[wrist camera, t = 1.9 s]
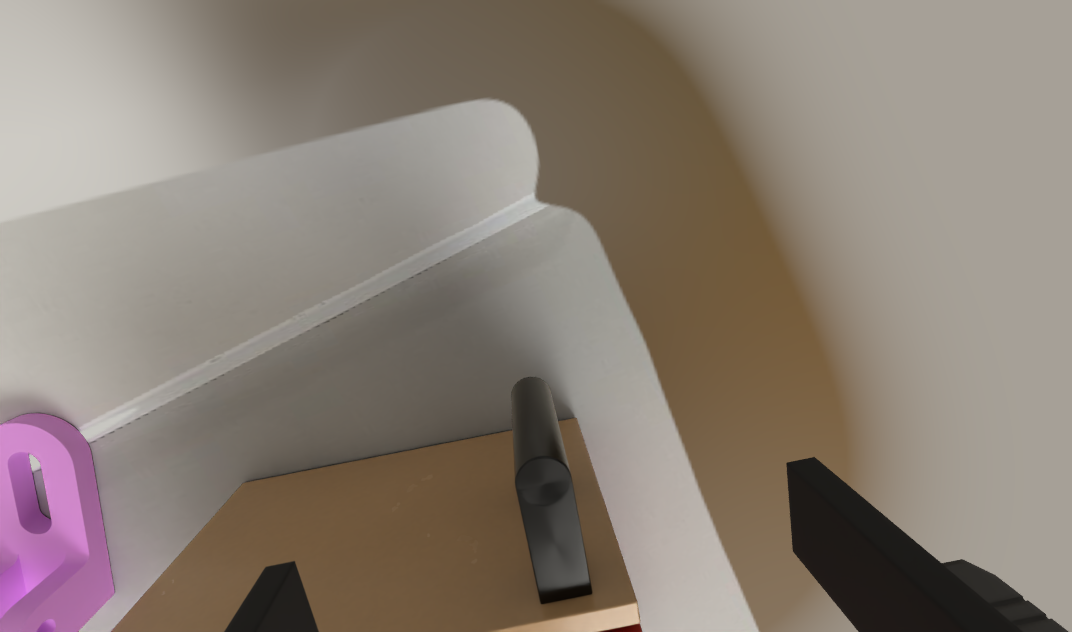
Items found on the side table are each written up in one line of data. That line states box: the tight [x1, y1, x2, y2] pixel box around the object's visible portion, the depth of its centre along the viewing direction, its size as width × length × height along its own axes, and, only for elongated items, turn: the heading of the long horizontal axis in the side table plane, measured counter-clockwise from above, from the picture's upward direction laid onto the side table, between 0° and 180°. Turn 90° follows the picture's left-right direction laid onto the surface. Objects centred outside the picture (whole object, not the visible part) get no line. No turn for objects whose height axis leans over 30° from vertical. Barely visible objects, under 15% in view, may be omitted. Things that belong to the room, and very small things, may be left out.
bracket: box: [0, 413, 115, 632], centre depth 30 cm, size 13×6×7 cm, turn 177°
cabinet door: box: [111, 377, 640, 632], centre depth 25 cm, size 7×22×16 cm, turn 100°
